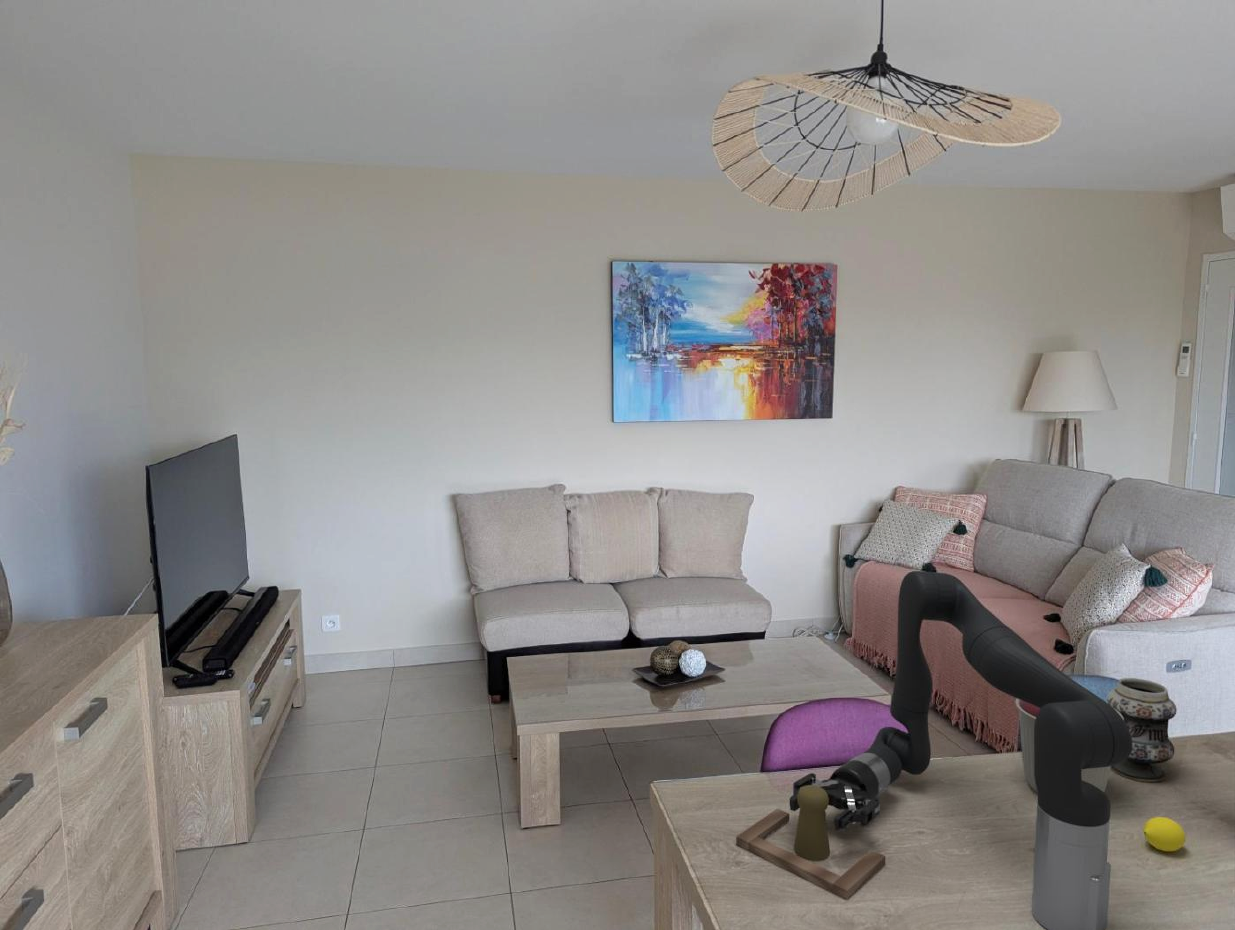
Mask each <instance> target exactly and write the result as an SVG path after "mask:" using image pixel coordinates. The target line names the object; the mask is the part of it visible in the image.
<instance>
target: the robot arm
mask: <svg viewBox="0 0 1235 930" xmlns="http://www.w3.org/2000/svg"><path fill="white" fill-rule="evenodd" d="M923 621H935V622H936V621H937V622H944V623H947V624H950V625H951V626H953V627H955V629H957V630H958V632H960V633H961V634H962V638H961V639H962V641H961V646H962V647H961V648H962V651H963V655H964V658H965V659H966V662H967V663H968V664H969V665H970V666H971V668H972V669H974V670H975V671H976V673H978V674H979V675H980V676H981V678H983V679H984V680H985V681H986V682H987V683H989V685H991V686H992V687H993V688H996V689H997V690H998V691H1001V692H1002V693H1004V694H1007V695H1008V696H1011V697H1013V698H1014V699H1020V700H1022V701H1025V702H1027V703H1030V704H1032V705H1034V706H1037V707H1039V708H1040V709H1039V711H1038V713H1037V716H1036V719H1035V725H1034V777H1035V783H1036V787H1037V791H1036V792H1037V801H1036V802H1037V804H1036V805H1037V807H1036V823H1035V837H1034V838H1035V840H1034V841H1035V843H1034V855H1033V857H1034V860H1033V873H1032V874H1033V876H1032V878H1033V879H1032V894H1031V913H1032V916H1033V918H1034V919H1035V920H1036V921H1037V923H1039V924H1040V925H1041V926H1042V927H1044V928H1045V929H1047V930H1105V929H1106V926H1107V925H1108V914H1109V913H1108V911H1109V901H1110V900H1109V899H1110V897H1109V896H1110V885H1111V871H1112V867H1111V866H1112V865H1111V863H1110V862H1108V853H1109V836H1110V833H1109V832H1110V823H1111V822H1110V820H1111V810H1112V809H1111V807H1112V805H1111V800H1110V798H1109V796H1108V794H1106V793H1105V792H1103V791H1102V790H1100V789H1099V788H1097V787H1096V786H1094V785H1092V784H1090V783H1088V782H1085V781H1083V780H1082V776H1081V773H1082V769H1089V768H1101V767H1109V766H1113V765H1117V764H1120V763H1122V762H1124V761H1125V760H1127V758H1128V757H1129V756H1130V754H1131V752H1132V747H1133V744H1132V737H1131V734H1130V731H1129V729H1128V727H1127V725H1126V723H1125V721H1124V720H1123V719H1122V717H1121V716H1120V715H1119V714H1118V712H1117V711H1116V710H1115V709H1114V708H1113V707H1111V706H1110V705H1109V704H1108V702H1107V701H1106V700H1104V699H1102V698H1101V697H1099V696H1098V695H1096V694H1095V693H1094V692H1092V691H1090V690H1089V689H1087V688H1086V687H1084V686H1083V685H1081V684H1080V683H1078V682H1076V681H1075V680H1073V679H1072V677H1070V676H1068V675H1067V674H1066V673H1064V672H1063V671H1061V670H1060V669H1059V668H1057V667H1056V666H1055V664H1053V663H1052V662H1050V661H1049V660H1048V659H1047V658H1045V656H1043V655H1041V654H1040V653H1039V652H1038V651H1037V650H1036V649H1034V648H1033V647H1032V645H1030V644H1029V643H1028V642H1027V641H1026V640H1024V638H1022V636H1020V635H1019V634H1017V632H1015V631H1014V630H1013V629H1011V628H1010V627H1009V626H1007V624H1005V623H1004V622H1003V621H1002V620H1000V619H999V618H998V617H997V616H996V615H995V614H993V612H991V611H990V610H989V609H988V608H987V607H985V606H984V605H983V604H982V603H981V601H980V600H979V599H978V598H977V597H976V596H975V594H974V593H973V592H971V590H970V589H969V588H968V587H967V586H966V585H965V583H963V581H962V580H960V579H959V578H958V577H956V576H954V575H953V574H949V573H943V572H934V571H922V570H913V571H909V572H908V573H906V575H905V576H904V577H903V579H902V581H901V583H900V585H899V592H898V603H897V654H896V655H897V656H896V657H897V658H896V671H895V678H894V684H893V691H892V696H891V701H890V705H889V706H890V707H889V712H890V716H891V717H892V718H893V719H894V720H895V721H896V722H898V723H900V724H901V725H902V726H903V727H904V728H905V729H906V730H907V732H906V731H904V730H901V729H899V728H897V727H893V726H886V727H883V728H881V729H879V731H878V732H877V734H876V736H875V738H874V740H873V741H872V743H871V744H870V745H871V746H870V747H869V748H868V749H867V750H865V751H864V752H862V753H861V754H858V755H856V756H854V757H852V758H851V759H850V760H848V761H847V762H846V763H844V764H843V765H841V766H839V767H838V768H836V769H835V770H833V773H832V774H831V775H830V777H829V778H828V779H824V780H819V779H818V778H817V777H816V776H817V775H816V774H815V773H812V772H811V773H808V774H806V775H804V776H803V777H802V778H799V779H797V780H796V781H794V782H793V783H792V789H793V790H792V791H793V792H792V795H791V796H790V797H789V810H790V811H792V812H796V811H797V810H800V806H799V805H798V801H797V795H798V791H799V790H800V788H802V787H804V786H807V785H814V786H818V787H821V788H822V789H824V790H825V791H826V793H827V795H828V798H829V803H828V806H831V807H833V808H835V809H837V810H840V811H841V810H842V811H841V812H840V813H838V815H836V816H835V817H834V822H833V823H834V824H833V825H834V827H833V828H834V830H836V831H838V832H839V831H841V830H844V829H847V828H848V827H849V826H851V825H855V824H857V823H859V825H860V826H861V827H865V828H866V827H868V826H869V825H870V824H871V823H872V822H873V821H874V820H875V819H876V818H877V817H878V816H879V815H880V810H881V809H880V808H881V807H880V806H881V804H880V803H881V801H880V798H878V797H879V796H881V795H882V793H883V792H884V791H885V790H886V789H887V788H888V787H889V786H890V785H892V784H893V783H894V782H895V781H896V780H898V779H899V778H900V776H901V774H902V771H903V772H905V773H908V774H910V775H914V776H918V775H922V773H924V772H925V771H926V770H927V769H928V768H929V765H930V761H931V758H932V756H931V755H932V753H931V752H932V751H931V749H932V748H931V742H930V740H931V739H930V732H929V712H930V707H931V702H932V696H933V690H934V689H933V686H934V685H933V684H934V683H933V682H934V681H933V676H932V672H931V669H930V666H929V664H928V662H927V659H926V657H925V654H924V650H923V647H922V642H921V628H922V624H923Z"/></svg>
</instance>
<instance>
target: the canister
mask: <svg viewBox="0 0 1235 930" xmlns="http://www.w3.org/2000/svg"><path fill="white" fill-rule="evenodd" d="M1015 706H1016V709H1018V711H1019V713H1018V714H1019V725H1020V726H1019V727H1020V740H1021V741H1020V742H1021V757H1022V765H1023V772H1024V775H1025V779H1026V780H1027V782H1028V784H1029V786H1030V787H1031V788H1032V789H1033V790H1034V791H1035V792H1037V787H1036V783H1035V777H1034V725H1035V719H1036V716H1037V713H1038V711H1039V709H1040V708H1039V707H1037V706H1034V705H1032V704H1030V703H1027V702H1025V701H1022V700H1020V699H1017V698H1015ZM1115 710H1116V709H1115ZM1116 711H1117V710H1116ZM1117 712H1118V711H1117ZM1118 714H1119V715H1120V716H1121V717H1122V719H1123V720H1124V718H1123V716H1122V715H1121V714H1120V713H1119V712H1118ZM1110 773H1111V766H1109V767H1101V768H1089V769H1082V773H1081V776H1082V780H1083V781H1085V782H1088V783H1090V784H1092V785H1094V786H1096V787H1097V788H1099V789H1100V790H1102V791H1103V792H1104V793H1105V792H1106V788H1107V785H1108V780H1109V777H1110Z"/></svg>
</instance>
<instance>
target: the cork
mask: <svg viewBox="0 0 1235 930" xmlns="http://www.w3.org/2000/svg"><path fill="white" fill-rule="evenodd" d="M797 801H798V805H799V806H800V808H799V814H798V819H797V826H796V831H795V836H794V837H795V838H794V842H793V843H794V844H793V851H795V852H794V853H795V855H797V856H799V857H801V858H803V859H805V860H807V861H810V862H820V861H825V860H826V859H828V858H829V857H830V854H831V848H830V840H829V832H828V823H827V814H826V810H827V809H828V806H829V805H828V803H829V798H828V795H827V793H826V791H825V790H824V789H822V788H821V787H818V786H814V785H807V786H804V787H802V788H800V790H799V791H798V795H797Z"/></svg>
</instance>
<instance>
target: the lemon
mask: <svg viewBox="0 0 1235 930" xmlns="http://www.w3.org/2000/svg"><path fill="white" fill-rule="evenodd" d="M1143 836H1144V838H1145V840H1147V842H1148V843H1149V845H1151V846H1153V847H1154V848H1155V849H1156V850H1159V851H1163V852H1167V853H1168V852H1176V851H1179V850H1180V849H1182V848H1183V846H1184V845H1185V843H1186V833H1185V832H1184V830H1183V828H1182V826H1181V825H1180V824H1179V823H1178V822H1177V821H1175V820H1173V819H1170V818H1169V817H1167V816H1166V817H1164V816H1163V817H1162V816H1155V817H1151V818H1150V819H1148V820H1147V821H1146V822H1145V823H1144V826H1143Z"/></svg>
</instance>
